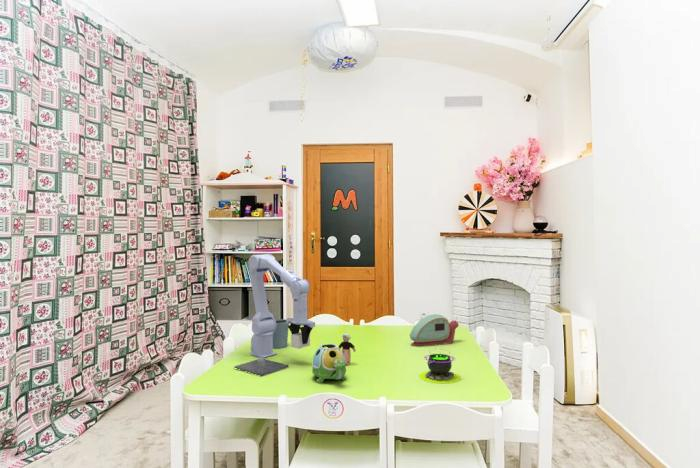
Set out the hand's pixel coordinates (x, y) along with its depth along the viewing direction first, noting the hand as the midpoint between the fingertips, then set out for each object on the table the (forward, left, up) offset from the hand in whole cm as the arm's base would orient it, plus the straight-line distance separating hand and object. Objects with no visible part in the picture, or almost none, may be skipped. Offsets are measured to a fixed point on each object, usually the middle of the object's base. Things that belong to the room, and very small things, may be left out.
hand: (300, 342), depth 189 cm
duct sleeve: (0, 0, -1) cm, 1 cm away
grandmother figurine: (+16, +10, -9) cm, 21 cm away
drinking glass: (-28, +14, -9) cm, 32 cm away
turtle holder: (+23, -8, -9) cm, 26 cm away
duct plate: (-8, -14, -8) cm, 18 cm away
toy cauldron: (+54, +18, -9) cm, 57 cm away
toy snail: (+29, +62, -9) cm, 69 cm away
